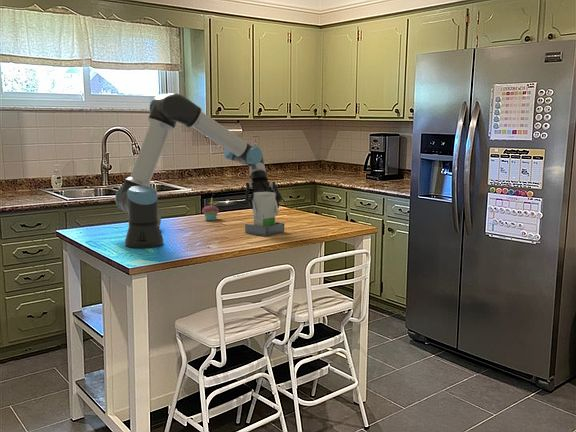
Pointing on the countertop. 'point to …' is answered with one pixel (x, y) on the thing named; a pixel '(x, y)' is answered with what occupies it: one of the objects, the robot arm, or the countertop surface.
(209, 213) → the cupcake
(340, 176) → the countertop surface
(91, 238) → the countertop surface
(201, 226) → the countertop surface
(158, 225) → the garlic bulb
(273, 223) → the skincare box
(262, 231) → the tray
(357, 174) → the countertop surface
